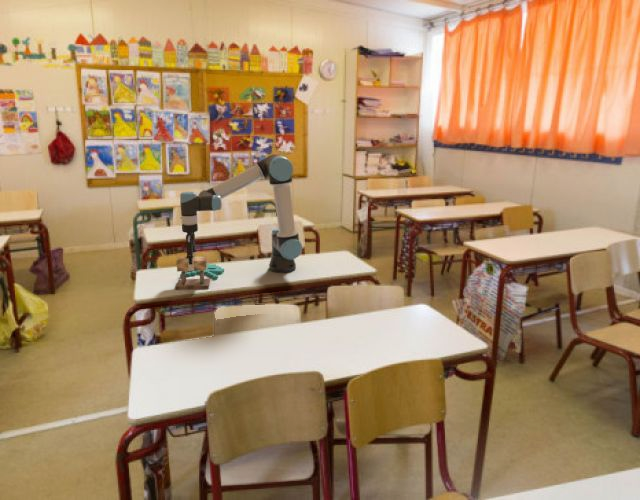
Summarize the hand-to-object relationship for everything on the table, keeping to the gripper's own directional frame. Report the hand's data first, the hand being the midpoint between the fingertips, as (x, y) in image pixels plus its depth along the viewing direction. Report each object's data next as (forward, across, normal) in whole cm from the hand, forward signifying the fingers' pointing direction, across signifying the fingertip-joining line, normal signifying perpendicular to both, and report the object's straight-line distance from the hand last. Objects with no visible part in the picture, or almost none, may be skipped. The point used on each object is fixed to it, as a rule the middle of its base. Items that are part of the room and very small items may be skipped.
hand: (192, 267), depth 245 cm
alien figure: (+10, -20, +4) cm, 23 cm away
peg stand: (+10, 0, 0) cm, 10 cm away
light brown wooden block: (+1, 0, 0) cm, 1 cm away
